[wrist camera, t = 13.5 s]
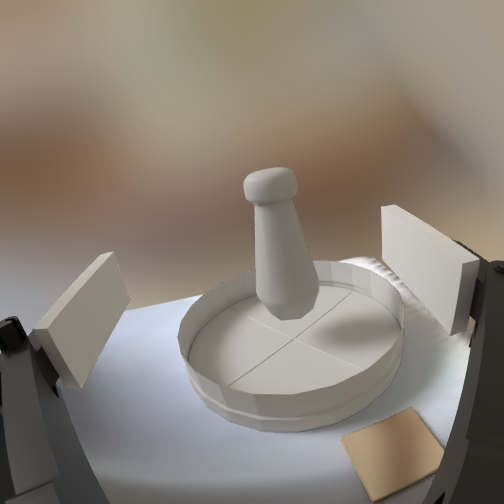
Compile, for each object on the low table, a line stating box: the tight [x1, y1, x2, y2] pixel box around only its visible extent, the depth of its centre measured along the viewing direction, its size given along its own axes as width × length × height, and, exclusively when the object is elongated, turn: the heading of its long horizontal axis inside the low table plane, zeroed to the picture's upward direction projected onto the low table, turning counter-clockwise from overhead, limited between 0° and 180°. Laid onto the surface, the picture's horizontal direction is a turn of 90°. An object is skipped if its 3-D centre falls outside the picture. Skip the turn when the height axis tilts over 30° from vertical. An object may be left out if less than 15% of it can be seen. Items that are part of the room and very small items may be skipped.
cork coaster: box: [341, 407, 444, 503], centre depth 17 cm, size 6×6×1 cm
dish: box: [178, 261, 405, 432], centre depth 30 cm, size 22×22×5 cm
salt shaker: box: [244, 168, 320, 321], centre depth 27 cm, size 6×6×13 cm
